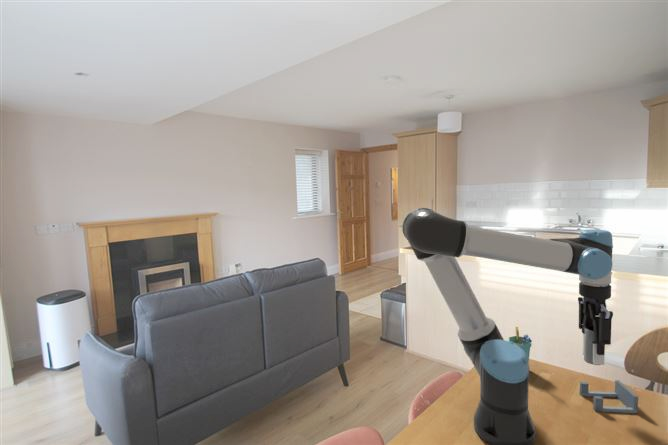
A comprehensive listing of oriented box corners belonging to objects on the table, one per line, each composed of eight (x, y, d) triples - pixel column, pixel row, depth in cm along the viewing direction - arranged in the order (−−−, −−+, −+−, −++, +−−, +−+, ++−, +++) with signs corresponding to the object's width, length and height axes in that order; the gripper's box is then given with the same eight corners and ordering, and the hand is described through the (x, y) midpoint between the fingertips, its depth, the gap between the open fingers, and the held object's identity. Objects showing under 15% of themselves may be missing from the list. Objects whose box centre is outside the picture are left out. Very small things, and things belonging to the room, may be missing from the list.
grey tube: (594, 366, 102) (595, 332, 101) (580, 359, 107) (580, 326, 106) (606, 363, 103) (607, 330, 102) (592, 356, 108) (593, 324, 107)
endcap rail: (595, 411, 103) (595, 395, 102) (579, 394, 111) (579, 378, 111) (637, 413, 101) (638, 396, 101) (618, 395, 109) (618, 380, 109)
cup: (542, 380, 119) (542, 338, 118) (518, 380, 120) (518, 338, 118) (522, 360, 133) (523, 321, 132) (501, 360, 134) (501, 322, 132)
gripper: (629, 292, 93) (626, 375, 96) (592, 275, 111) (590, 346, 113) (598, 292, 94) (596, 374, 97) (565, 275, 112) (565, 345, 114)
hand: (593, 359), depth 105 cm, fingers closed on grey tube, 4 cm apart
